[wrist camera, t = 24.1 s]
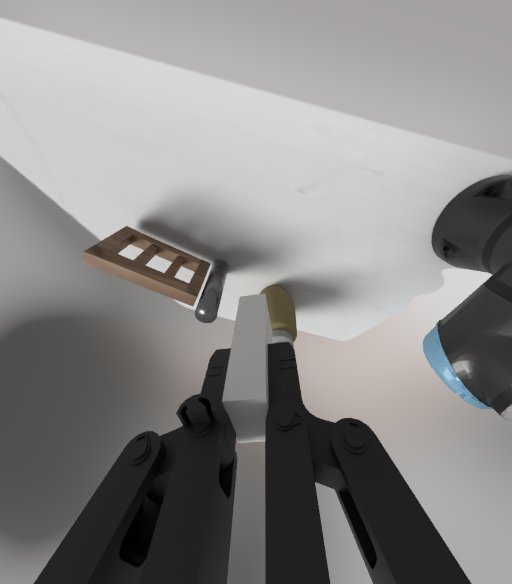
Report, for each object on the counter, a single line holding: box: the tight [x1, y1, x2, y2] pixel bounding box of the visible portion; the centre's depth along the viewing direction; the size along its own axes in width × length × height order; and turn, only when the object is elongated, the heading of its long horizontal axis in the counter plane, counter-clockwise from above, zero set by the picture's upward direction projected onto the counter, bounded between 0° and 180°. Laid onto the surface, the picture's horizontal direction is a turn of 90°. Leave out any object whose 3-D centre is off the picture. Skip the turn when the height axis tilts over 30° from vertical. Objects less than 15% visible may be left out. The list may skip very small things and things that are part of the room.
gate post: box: [195, 260, 228, 323], centre depth 38 cm, size 3×3×15 cm
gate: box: [82, 226, 210, 306], centre depth 36 cm, size 2×15×11 cm, turn 63°
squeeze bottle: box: [260, 286, 297, 347], centre depth 40 cm, size 8×8×18 cm
